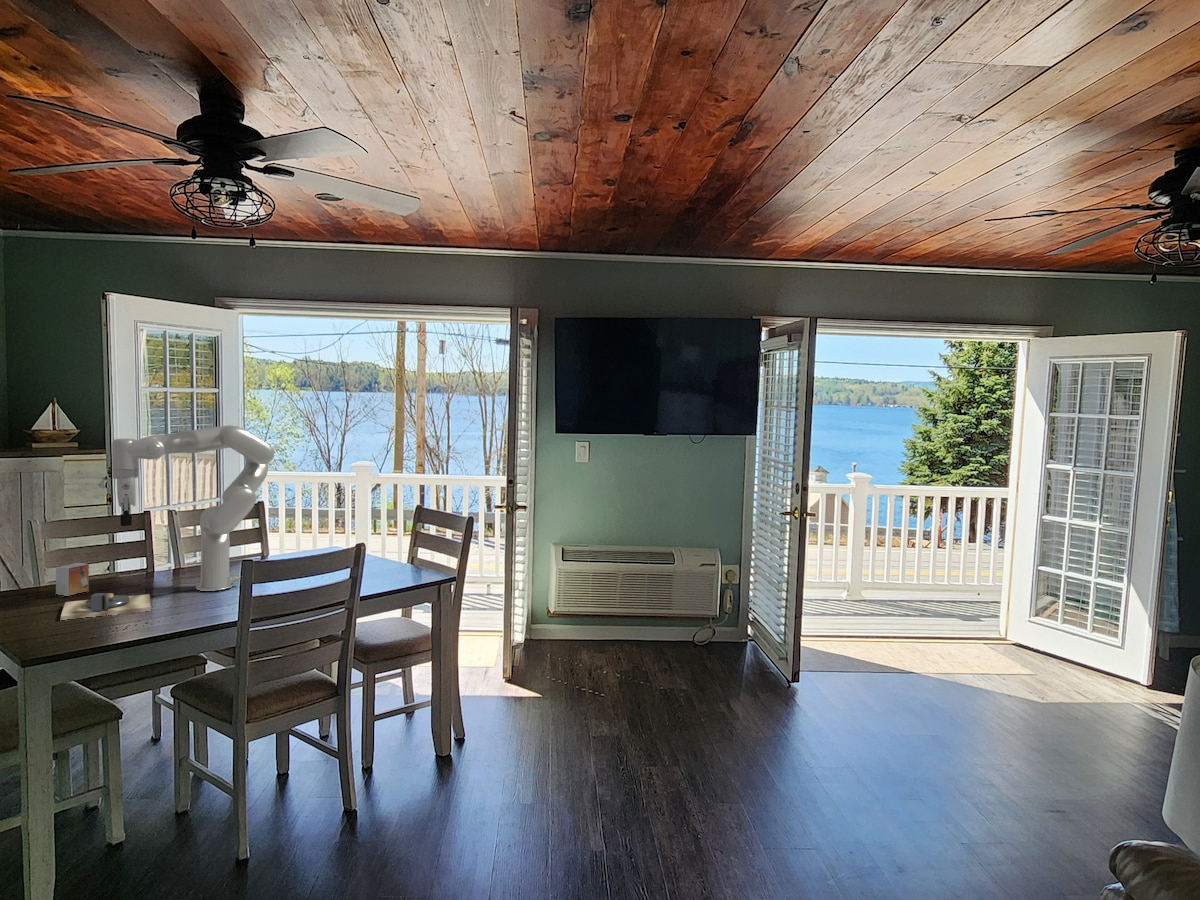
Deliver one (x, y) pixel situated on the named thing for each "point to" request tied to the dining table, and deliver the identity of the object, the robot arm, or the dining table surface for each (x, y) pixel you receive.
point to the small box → (72, 579)
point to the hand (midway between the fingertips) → (126, 525)
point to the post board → (106, 607)
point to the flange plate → (98, 601)
